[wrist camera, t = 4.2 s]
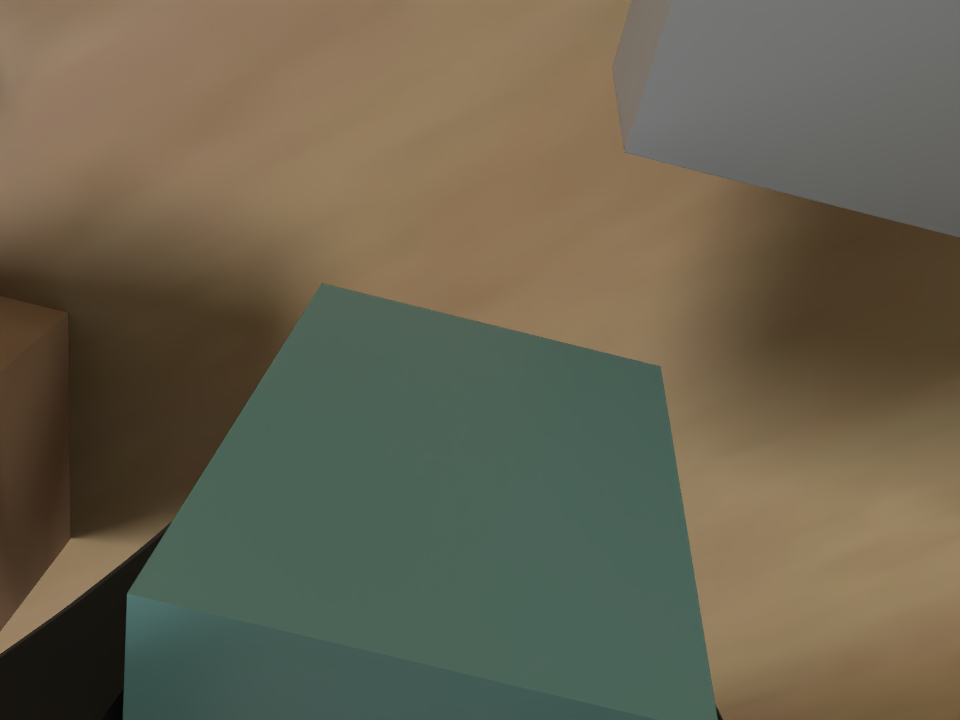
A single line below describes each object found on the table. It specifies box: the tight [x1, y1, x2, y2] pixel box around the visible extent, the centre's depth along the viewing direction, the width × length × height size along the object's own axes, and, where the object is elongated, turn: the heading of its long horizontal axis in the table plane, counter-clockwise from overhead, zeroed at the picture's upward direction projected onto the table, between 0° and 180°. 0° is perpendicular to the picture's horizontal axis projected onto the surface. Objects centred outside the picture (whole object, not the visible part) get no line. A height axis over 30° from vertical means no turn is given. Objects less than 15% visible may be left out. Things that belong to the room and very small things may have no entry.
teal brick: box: [123, 283, 718, 720], centre depth 9 cm, size 6×4×5 cm, turn 167°
